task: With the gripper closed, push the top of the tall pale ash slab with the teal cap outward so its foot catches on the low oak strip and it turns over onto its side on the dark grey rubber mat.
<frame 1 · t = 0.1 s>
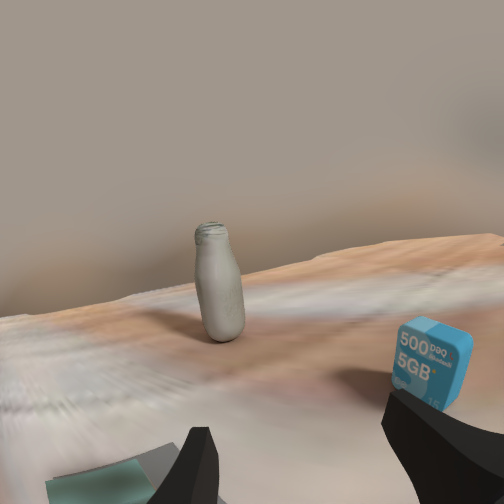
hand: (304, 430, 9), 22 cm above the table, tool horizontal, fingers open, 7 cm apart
glass bottle: (226, 339, 64), on the table
data package: (422, 395, 32), on the table
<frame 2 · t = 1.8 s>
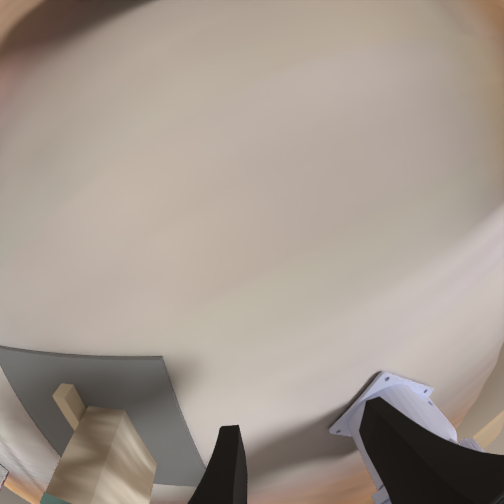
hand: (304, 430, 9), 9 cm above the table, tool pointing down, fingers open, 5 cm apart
candy bar box: (2, 468, 25), on the table
ash slab: (124, 438, 19), resting on rubber mat
rubber mat: (96, 430, 20), on the table
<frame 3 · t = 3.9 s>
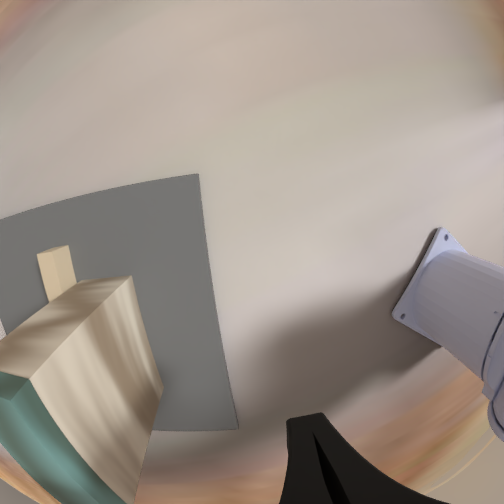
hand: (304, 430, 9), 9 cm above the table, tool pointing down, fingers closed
ash slab: (122, 338, 17), resting on rubber mat
rubber mat: (86, 335, 17), on the table
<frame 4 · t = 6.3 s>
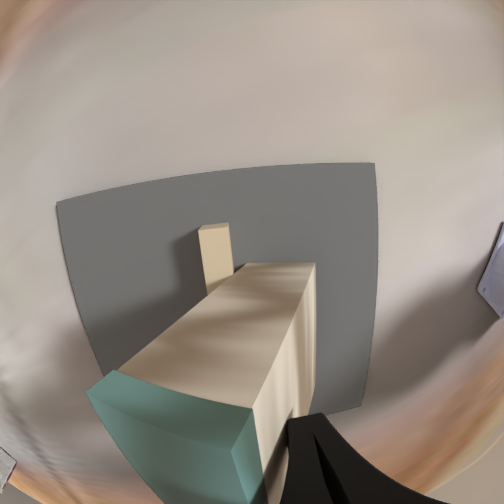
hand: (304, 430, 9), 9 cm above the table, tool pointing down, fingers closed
candy bar box: (8, 458, 23), on the table
ash slab: (284, 331, 17), point 1 cm above the table, tilted 23°, touching rubber mat
rubber mat: (226, 328, 18), on the table
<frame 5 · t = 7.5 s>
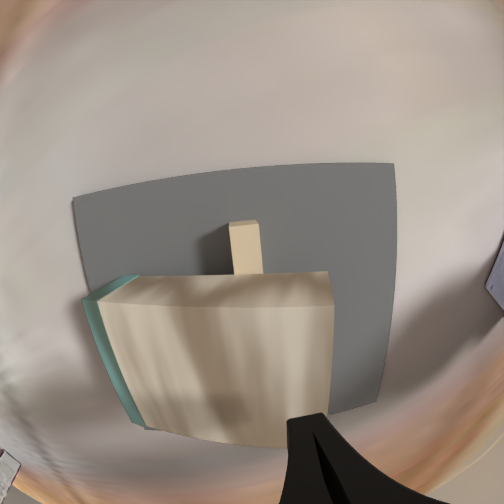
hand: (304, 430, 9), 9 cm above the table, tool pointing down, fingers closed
candy bar box: (11, 460, 23), on the table
ash slab: (328, 368, 12), point 6 cm above the table, tilted 106°, touching rubber mat
rubber mat: (249, 326, 18), on the table
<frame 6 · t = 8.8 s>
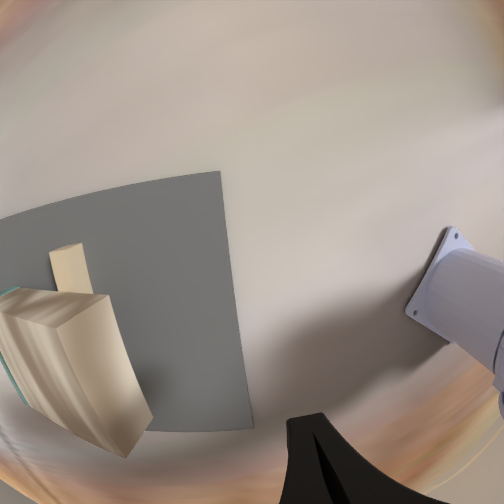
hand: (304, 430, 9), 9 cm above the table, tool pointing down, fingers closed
ash slab: (113, 385, 12), point 6 cm above the table, tilted 106°, touching rubber mat
rubber mat: (98, 336, 17), on the table
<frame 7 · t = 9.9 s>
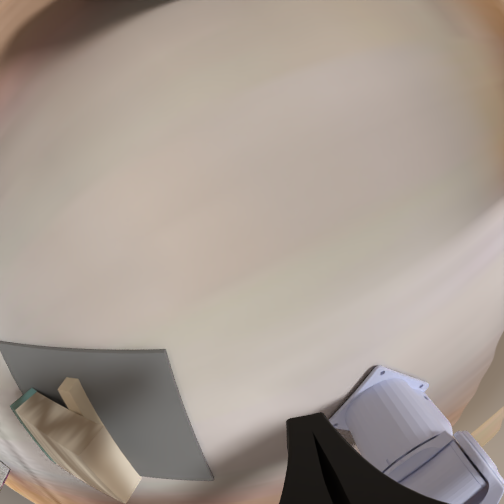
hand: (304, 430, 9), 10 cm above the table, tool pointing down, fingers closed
candy bar box: (3, 465, 26), on the table
ash slab: (114, 469, 15), point 6 cm above the table, tilted 106°, touching rubber mat
rubber mat: (100, 424, 20), on the table
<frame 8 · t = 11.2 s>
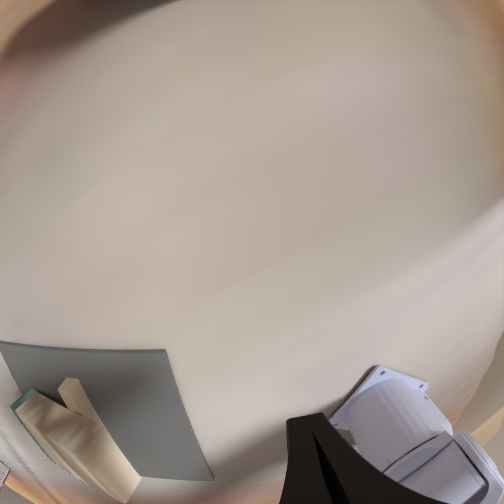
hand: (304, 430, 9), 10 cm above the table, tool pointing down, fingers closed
candy bar box: (3, 465, 26), on the table
ash slab: (114, 469, 15), point 6 cm above the table, tilted 106°, touching rubber mat
rubber mat: (100, 424, 20), on the table
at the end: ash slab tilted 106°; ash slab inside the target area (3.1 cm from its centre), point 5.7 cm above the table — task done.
